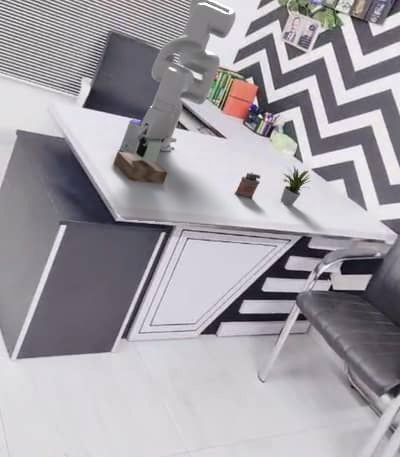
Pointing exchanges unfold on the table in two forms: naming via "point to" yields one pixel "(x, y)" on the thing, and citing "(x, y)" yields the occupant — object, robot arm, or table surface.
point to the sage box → (150, 150)
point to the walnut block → (140, 168)
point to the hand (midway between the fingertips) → (145, 154)
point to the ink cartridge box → (131, 136)
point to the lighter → (247, 186)
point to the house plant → (293, 187)
